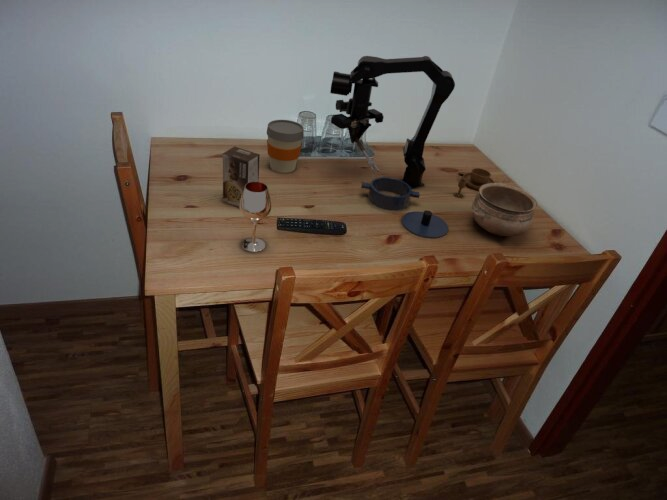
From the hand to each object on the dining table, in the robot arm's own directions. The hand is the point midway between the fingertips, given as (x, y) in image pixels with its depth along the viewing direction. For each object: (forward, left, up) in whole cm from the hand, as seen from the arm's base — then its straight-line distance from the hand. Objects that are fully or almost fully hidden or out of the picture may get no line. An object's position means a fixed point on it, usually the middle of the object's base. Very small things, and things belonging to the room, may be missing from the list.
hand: (354, 142), depth 174 cm
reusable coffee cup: (+19, -14, -12) cm, 27 cm away
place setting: (-37, +25, -12) cm, 46 cm away
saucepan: (0, +21, -12) cm, 24 cm away
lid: (0, +38, -12) cm, 40 cm away
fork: (0, +6, -1) cm, 6 cm away
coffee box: (+44, +1, -12) cm, 46 cm away
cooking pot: (-21, +50, -12) cm, 55 cm away
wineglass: (+52, +23, -12) cm, 58 cm away
